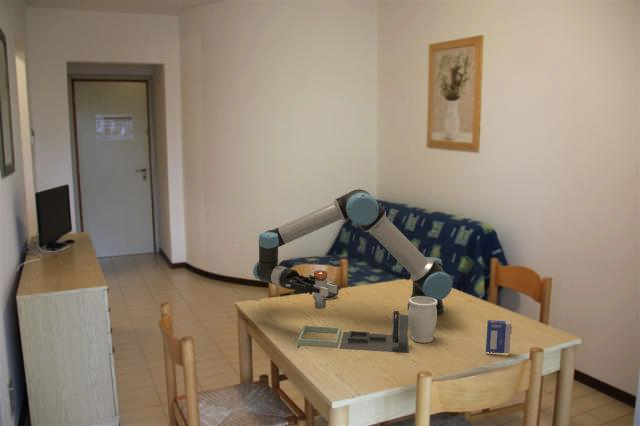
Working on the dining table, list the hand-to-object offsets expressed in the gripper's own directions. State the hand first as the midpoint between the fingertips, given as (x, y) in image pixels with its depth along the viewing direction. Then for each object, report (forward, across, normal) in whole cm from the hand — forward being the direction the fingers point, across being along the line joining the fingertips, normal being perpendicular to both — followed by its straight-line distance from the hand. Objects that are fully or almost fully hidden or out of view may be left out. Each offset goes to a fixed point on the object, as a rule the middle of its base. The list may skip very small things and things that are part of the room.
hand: (331, 291), depth 205 cm
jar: (+20, -28, -20) cm, 40 cm away
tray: (-5, 0, -20) cm, 21 cm away
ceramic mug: (-38, -39, -20) cm, 58 cm away
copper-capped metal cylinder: (-5, 0, -7) cm, 9 cm away
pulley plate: (+11, -12, -20) cm, 26 cm away
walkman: (+47, -35, -20) cm, 62 cm away
